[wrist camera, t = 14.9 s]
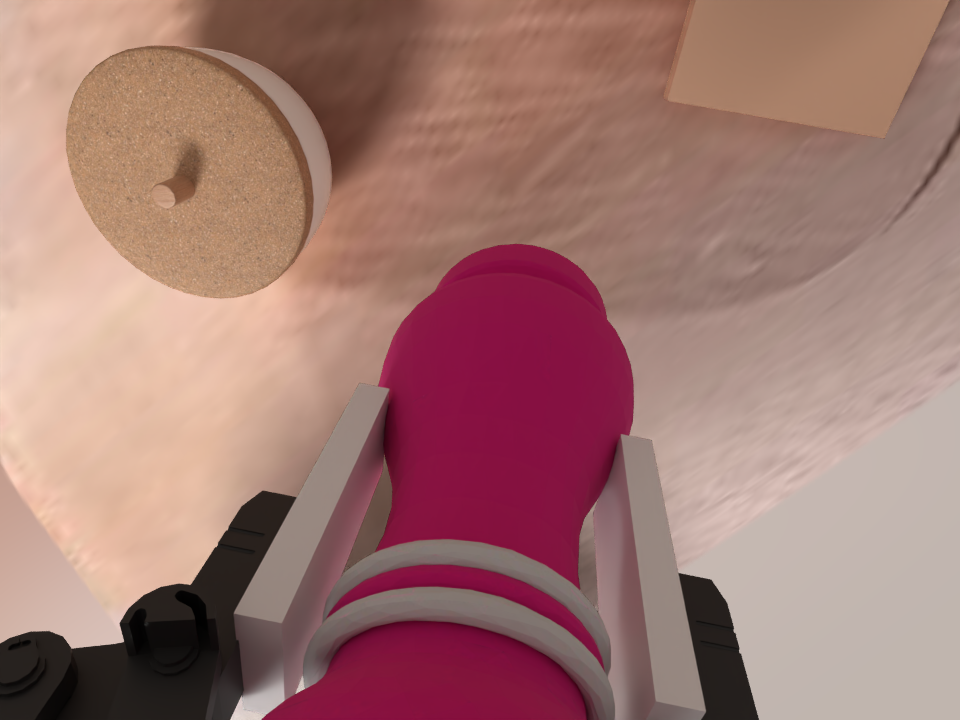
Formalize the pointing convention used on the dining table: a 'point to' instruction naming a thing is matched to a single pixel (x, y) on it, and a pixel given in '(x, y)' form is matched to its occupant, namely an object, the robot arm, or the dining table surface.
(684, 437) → the dining table surface
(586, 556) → the dining table surface
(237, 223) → the lidded jar
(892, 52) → the tile
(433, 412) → the pepper mill
